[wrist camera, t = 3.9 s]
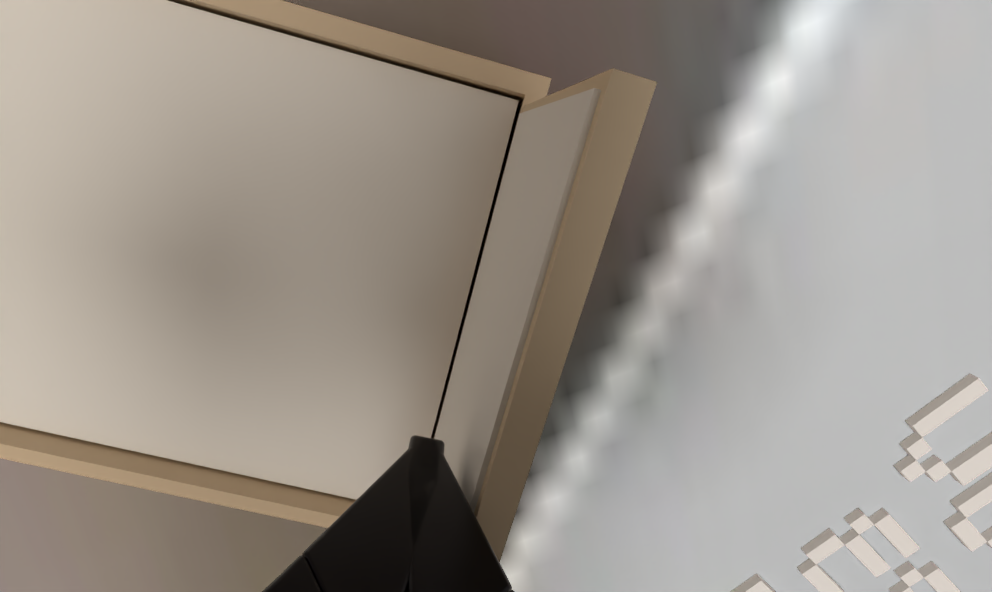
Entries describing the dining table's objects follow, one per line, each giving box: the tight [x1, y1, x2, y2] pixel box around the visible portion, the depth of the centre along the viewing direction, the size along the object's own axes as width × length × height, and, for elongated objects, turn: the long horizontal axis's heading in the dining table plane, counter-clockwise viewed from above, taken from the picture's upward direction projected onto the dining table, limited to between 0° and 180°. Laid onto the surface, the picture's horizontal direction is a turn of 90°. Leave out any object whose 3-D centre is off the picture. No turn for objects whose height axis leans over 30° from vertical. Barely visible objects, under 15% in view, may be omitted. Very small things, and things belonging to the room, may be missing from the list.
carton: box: [0, 0, 551, 528], centre depth 16 cm, size 14×18×6 cm
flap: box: [434, 68, 657, 562], centre depth 10 cm, size 12×7×1 cm
